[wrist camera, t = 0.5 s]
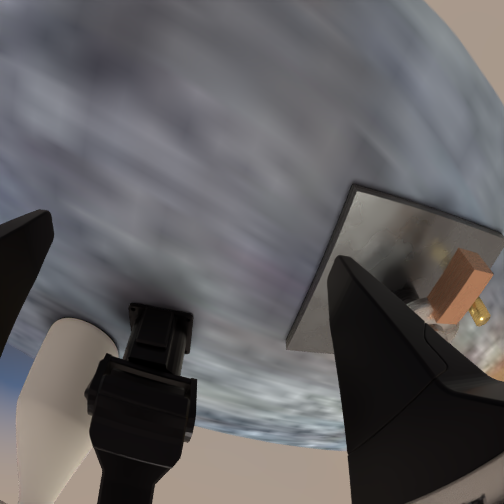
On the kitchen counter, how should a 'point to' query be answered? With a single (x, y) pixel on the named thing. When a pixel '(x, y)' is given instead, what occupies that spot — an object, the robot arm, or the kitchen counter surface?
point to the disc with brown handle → (453, 293)
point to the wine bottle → (57, 409)
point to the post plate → (391, 256)
